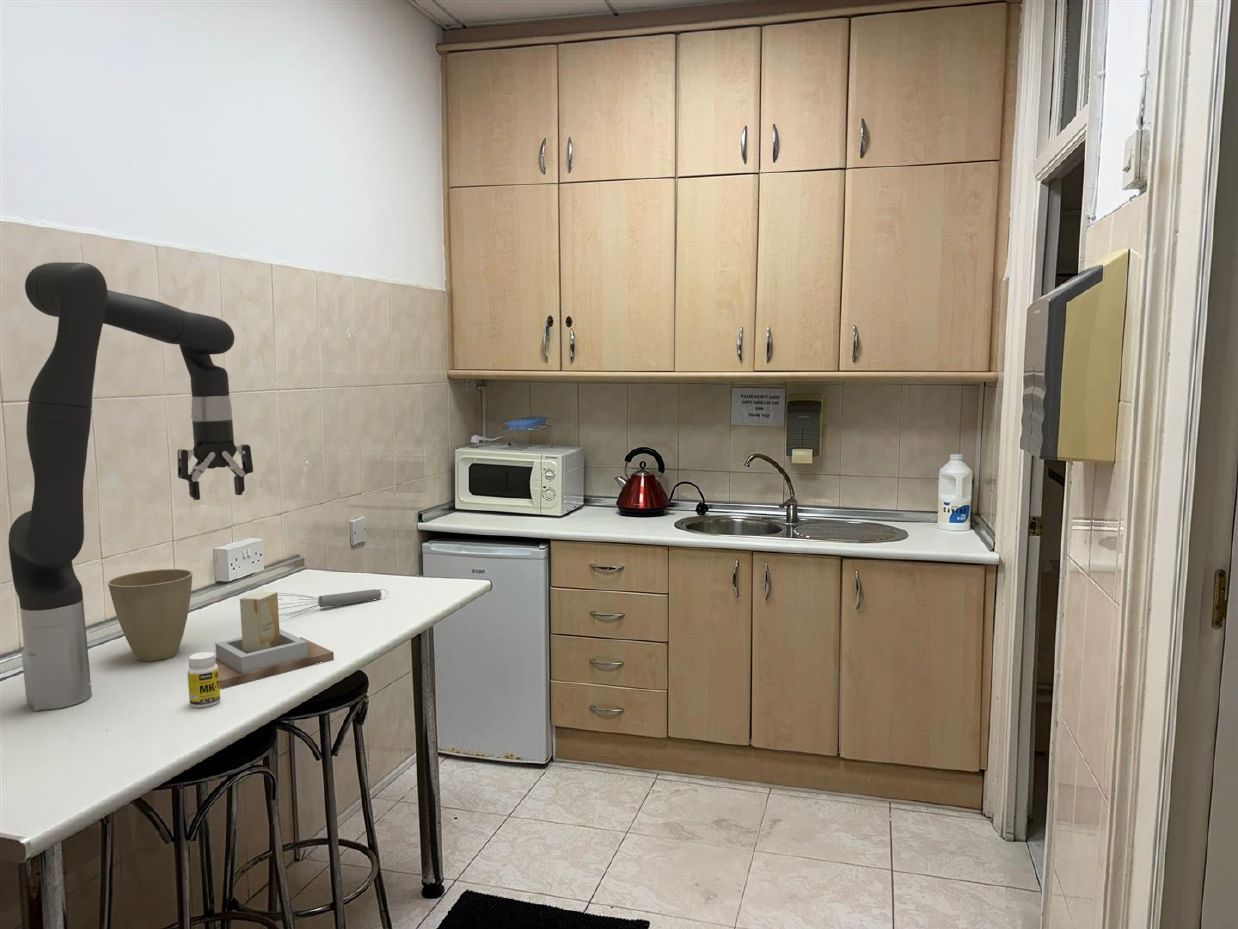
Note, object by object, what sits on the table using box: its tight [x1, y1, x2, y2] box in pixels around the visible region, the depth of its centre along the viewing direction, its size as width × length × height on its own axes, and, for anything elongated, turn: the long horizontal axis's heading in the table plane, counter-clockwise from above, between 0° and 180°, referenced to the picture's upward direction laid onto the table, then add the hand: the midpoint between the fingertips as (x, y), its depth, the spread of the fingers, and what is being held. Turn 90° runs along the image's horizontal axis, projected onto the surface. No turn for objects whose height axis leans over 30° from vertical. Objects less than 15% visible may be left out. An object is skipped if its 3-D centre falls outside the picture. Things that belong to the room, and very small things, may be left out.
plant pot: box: [107, 568, 194, 662], centre depth 182 cm, size 15×15×16 cm
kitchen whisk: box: [277, 588, 389, 619], centre depth 213 cm, size 6×34×6 cm, turn 130°
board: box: [188, 636, 335, 690], centre depth 175 cm, size 22×14×2 cm, turn 134°
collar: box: [214, 628, 308, 674], centre depth 175 cm, size 12×12×3 cm
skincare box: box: [239, 590, 280, 654], centre depth 175 cm, size 6×4×12 cm
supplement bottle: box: [187, 651, 221, 709], centre depth 156 cm, size 5×5×8 cm
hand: (218, 497), depth 189 cm, fingers open, 8 cm apart
